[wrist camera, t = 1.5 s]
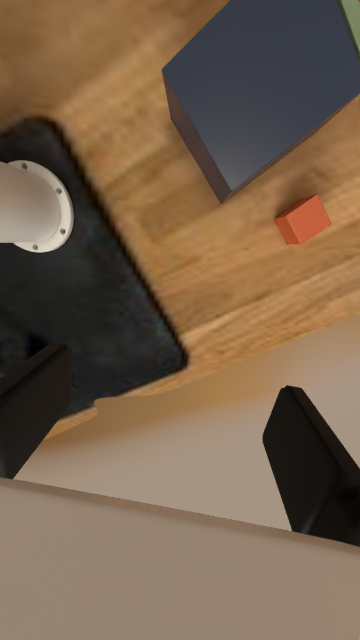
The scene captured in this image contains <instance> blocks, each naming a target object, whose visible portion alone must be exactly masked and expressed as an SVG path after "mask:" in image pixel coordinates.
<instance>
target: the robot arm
mask: <svg viewBox="0 0 360 640" xmlns="http://www.w3.org/2000/svg"><path fill="white" fill-rule="evenodd" d="M61 191H62V193H61ZM73 222H74V211H73V205H72V201H71V198H70V196H69V194H68V191H67V190H66V188H65V186H64V185H63V183H62V182H61V181H60V180H59V179H58V177H57V176H56V175H54V174H53V173H52V172H51V171H50V170H48V169H46V168H45V167H43V166H41V165H39V164H36V163H34V162H30V161H24V160H17V161H13V162H10V163H8V164H6V163H4V162H1V161H0V243H14V244H16V245H17V246H19V247H21V248H23V249H25V250H28V251H32V252H48V251H52V250H55V249H57V248H59V247H60V246H61V245H63V244H64V243H65V241H66V240H67V239H68V237H69V235H70V234H71V231H72V228H73ZM71 373H72V351H71V349H69V348H68V345H66V344H61V343H55V342H52V343H51V344H49V345H48V346H46V347H45V348H44V349H42V350H41V351H39V352H38V353H36V354H35V355H34V356H32V357H31V358H29V359H28V360H27V361H25V362H24V363H22V364H21V365H20V366H18V367H17V368H15V369H14V370H12V371H11V372H10V373H8V374H7V375H5V376H4V377H3V378H1V379H0V640H360V468H359V467H358V466H357V464H356V463H355V461H354V460H353V459H352V457H351V456H350V454H349V453H348V452H347V450H346V449H345V448H344V446H343V445H342V443H341V442H340V441H339V439H338V438H337V436H336V435H335V434H334V432H333V431H332V430H331V428H330V427H329V425H328V424H327V423H326V421H325V420H324V419H323V417H322V416H321V414H320V413H319V412H318V410H317V409H316V407H315V406H314V405H313V403H312V402H311V400H310V399H309V398H308V396H307V395H306V393H305V392H304V391H303V389H302V388H298V387H293V386H288V385H287V386H286V387H285V388H281V390H280V392H279V394H278V397H277V399H276V402H275V405H274V407H273V410H272V412H271V415H270V418H269V420H268V422H267V425H266V428H265V430H264V433H263V444H264V447H265V450H266V453H267V456H268V459H269V462H270V465H271V468H272V471H273V474H274V477H275V480H276V483H277V486H278V489H279V492H280V495H281V498H282V501H283V504H284V507H285V510H286V513H287V516H288V519H289V522H290V525H291V528H292V531H293V532H292V531H287V530H282V529H277V528H272V527H266V526H261V525H256V524H251V523H246V522H241V521H236V520H231V519H226V518H220V517H215V516H210V515H205V514H200V513H194V512H189V511H183V510H178V509H173V508H168V507H163V506H157V505H152V504H147V503H141V502H135V501H131V500H125V499H120V498H114V497H109V496H103V495H98V494H93V493H87V492H81V491H76V490H70V489H65V488H60V487H54V486H49V485H42V484H37V483H32V482H26V481H19V480H14V479H13V478H14V477H15V476H16V474H17V473H18V472H19V470H20V469H21V468H22V466H23V465H24V464H25V462H26V461H27V460H28V459H29V457H30V456H31V455H32V453H33V452H34V451H35V449H36V448H37V447H38V446H39V444H40V443H41V442H42V440H43V439H44V438H45V436H46V435H47V434H48V433H49V431H50V430H51V429H52V427H53V426H54V425H55V423H56V422H57V421H58V420H59V418H60V417H61V416H62V414H63V413H64V412H65V410H66V409H67V408H68V406H69V405H70V402H71Z"/></svg>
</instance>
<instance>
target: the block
mask: <svg viewBox="0 0 360 640" xmlns="http://www.w3.org/2000/svg"><path fill="white" fill-rule="evenodd" d="M275 221H276V223H277V225H278V227H279V229H280V231H281V232H282V234H283V236H284V238H285V240H286V242H287V244H299V245H300V244H302V243H304V242H305V241H307V240H308V239H310V238H311V237H313V236H314V235H316V234H318V233H319V232H321V231H322V230H324V229H325V228H327V227H328V226H330V225H331V222H330V220H329V218H328V216H327V214H326V212H325V209H324V207H323V205H322V203H321V201H320V199H319V197H318V195H317V194H316V195H313V196H311V197H308V198H305V199H303V200H301V201H299V202H298V203H296V204H295V205H294V206H292V207H291V208H289V209H288V210H286V211H285V212H283V213H282V214H281V215H279V216H278V217H276V218H275Z"/></svg>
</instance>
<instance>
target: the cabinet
mask: <svg viewBox="0 0 360 640" xmlns="http://www.w3.org/2000/svg"><path fill="white" fill-rule="evenodd" d="M162 74H163V78H164V84H165V89H166V94H167V100H168V105H169V110H170V116H171V120H172V121H173V123H174V125H175V126H176V128H177V130H178V132H179V133H180V135H181V137H182V138H183V140H184V142H185V143H186V145H187V147H188V148H189V150H190V152H191V154H192V155H193V157H194V159H195V160H196V162H197V164H198V165H199V167H200V169H201V170H202V172H203V174H204V175H205V177H206V179H207V181H208V182H209V184H210V186H211V187H212V189H213V191H214V192H215V194H216V196H217V197H218V199H219V201H220V203H221V204H223V203H224V202H225V201H226V200H228V199H229V198H230V197H232V196H233V195H234V194H236V193H237V192H238V191H240V190H241V189H242V188H244V187H245V186H246V185H247V184H249V183H250V182H251V181H253V180H254V179H255V178H257V177H258V176H259V175H261V174H262V173H263V172H264V171H266V170H267V169H268V168H270V167H271V166H272V165H274V164H275V163H276V162H278V161H279V160H280V159H281V158H283V157H284V156H285V155H287V154H288V153H289V152H291V151H292V150H293V149H295V148H296V147H297V146H299V145H300V144H301V143H302V142H304V141H305V140H306V139H308V138H309V137H310V136H312V135H313V134H314V133H316V132H317V131H318V130H319V129H320V128H321V127H323V126H324V125H325V124H326V123H327V122H328V121H329V120H330V119H332V118H333V117H334V116H335V115H336V114H337V113H338V112H340V111H341V110H342V109H343V108H344V107H345V106H346V105H347V104H349V103H350V102H351V101H352V100H353V99H354V98H355V97H357V96H358V95H359V94H360V64H359V61H358V58H357V56H356V53H355V50H354V47H353V45H352V42H351V39H350V37H349V34H348V31H347V28H346V26H345V23H344V20H343V17H342V15H341V12H340V9H339V6H338V4H337V1H336V0H230V1H229V2H228V3H227V4H226V5H225V6H224V7H223V8H222V9H221V10H220V11H219V12H218V13H217V14H216V15H215V16H214V17H213V18H212V19H211V20H210V21H209V22H208V23H207V24H206V25H205V26H204V27H203V28H202V29H201V30H200V31H199V32H198V33H197V34H196V35H195V36H194V37H193V38H192V39H191V40H190V41H189V42H188V43H187V44H186V45H185V46H184V47H183V48H182V50H181V51H180V52H179V53H178V54H177V55H176V56H175V57H174V58H173V59H172V60H171V61H170V62H169V63H168V64H167V65H166V66H165V67H164V68H163V69H162Z"/></svg>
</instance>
